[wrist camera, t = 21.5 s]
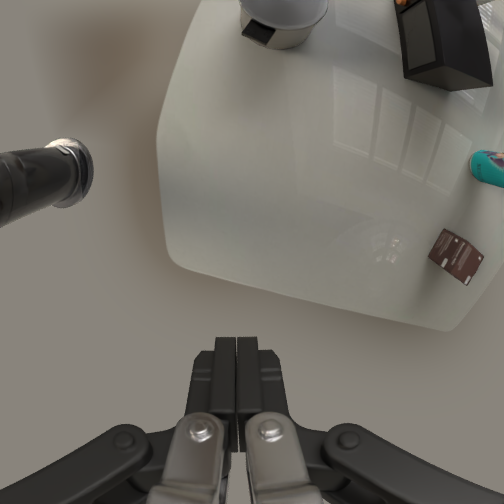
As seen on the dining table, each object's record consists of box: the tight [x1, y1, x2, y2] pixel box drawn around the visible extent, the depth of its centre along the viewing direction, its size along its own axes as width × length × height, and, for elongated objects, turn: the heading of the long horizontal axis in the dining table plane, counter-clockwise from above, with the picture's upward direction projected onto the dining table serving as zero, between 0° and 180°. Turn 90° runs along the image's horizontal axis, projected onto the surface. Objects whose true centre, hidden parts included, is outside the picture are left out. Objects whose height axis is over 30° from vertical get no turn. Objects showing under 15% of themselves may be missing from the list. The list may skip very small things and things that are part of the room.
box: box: [428, 229, 484, 286], centre depth 41 cm, size 6×6×7 cm
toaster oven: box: [394, 0, 493, 92], centre depth 26 cm, size 11×16×11 cm
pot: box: [239, 0, 328, 49], centre depth 27 cm, size 14×11×8 cm
